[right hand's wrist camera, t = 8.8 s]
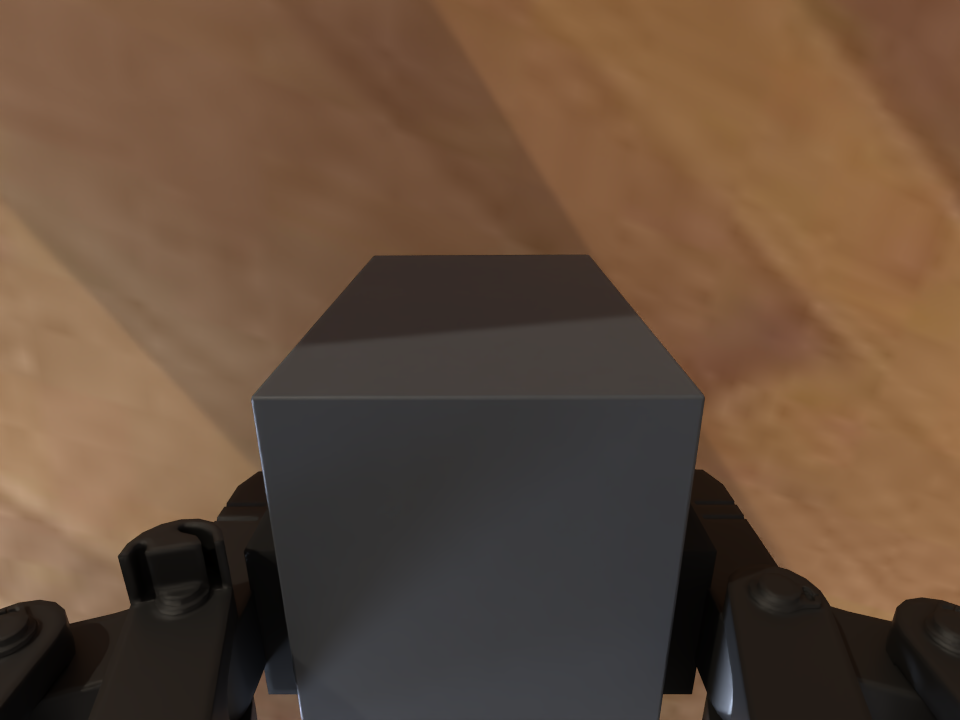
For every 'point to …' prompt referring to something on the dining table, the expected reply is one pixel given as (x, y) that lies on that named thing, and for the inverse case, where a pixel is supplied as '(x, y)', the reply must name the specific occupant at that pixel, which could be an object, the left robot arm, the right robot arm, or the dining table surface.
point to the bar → (479, 494)
